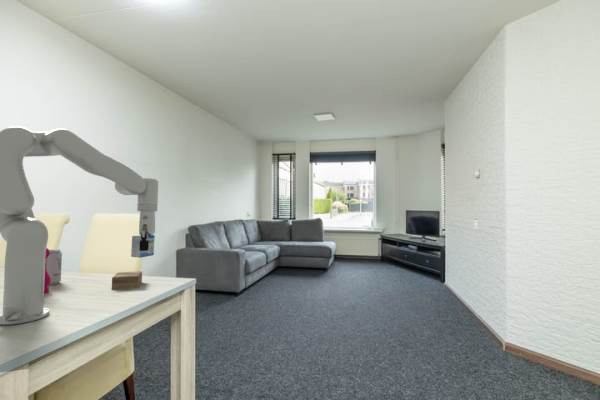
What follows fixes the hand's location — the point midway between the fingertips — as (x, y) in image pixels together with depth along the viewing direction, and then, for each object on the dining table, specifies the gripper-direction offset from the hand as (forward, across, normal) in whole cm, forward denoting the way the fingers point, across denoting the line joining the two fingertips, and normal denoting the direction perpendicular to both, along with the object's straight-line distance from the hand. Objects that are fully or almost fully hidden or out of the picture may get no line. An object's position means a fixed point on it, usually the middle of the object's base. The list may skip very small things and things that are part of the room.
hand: (145, 248), depth 125 cm
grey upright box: (+18, +24, +41) cm, 51 cm away
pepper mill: (+18, +9, +40) cm, 45 cm away
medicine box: (+3, 0, +1) cm, 3 cm away
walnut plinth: (+18, +13, +9) cm, 24 cm away
